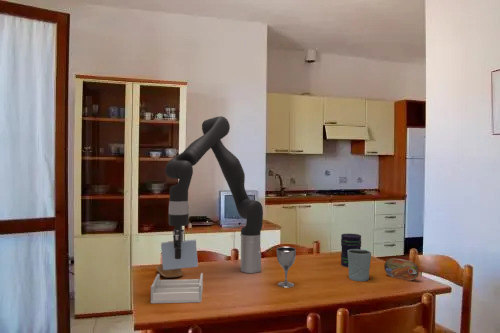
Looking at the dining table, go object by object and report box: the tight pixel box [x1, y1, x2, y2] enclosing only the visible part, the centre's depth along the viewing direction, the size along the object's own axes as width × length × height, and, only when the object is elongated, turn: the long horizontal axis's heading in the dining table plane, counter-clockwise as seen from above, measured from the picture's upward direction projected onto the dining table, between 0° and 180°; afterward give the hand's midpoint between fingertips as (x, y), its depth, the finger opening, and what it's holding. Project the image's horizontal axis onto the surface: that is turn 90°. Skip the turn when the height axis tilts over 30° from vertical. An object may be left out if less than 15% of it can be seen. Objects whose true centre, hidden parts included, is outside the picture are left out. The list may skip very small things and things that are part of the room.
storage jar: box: [340, 233, 362, 268], centre depth 195 cm, size 10×10×15 cm
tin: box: [383, 257, 420, 282], centre depth 174 cm, size 15×3×8 cm, turn 45°
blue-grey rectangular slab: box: [160, 239, 199, 270], centre depth 150 cm, size 13×2×10 cm, turn 95°
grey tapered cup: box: [347, 249, 372, 282], centre depth 173 cm, size 10×10×12 cm
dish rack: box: [150, 272, 204, 304], centre depth 150 cm, size 18×16×6 cm
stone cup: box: [155, 240, 184, 278], centre depth 177 cm, size 15×12×15 cm
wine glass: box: [276, 246, 297, 288], centre depth 163 cm, size 8×8×15 cm
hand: (178, 257), depth 150 cm, fingers closed on blue-grey rectangular slab, 2 cm apart
